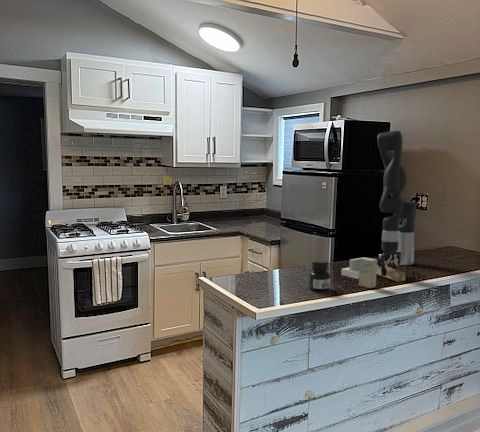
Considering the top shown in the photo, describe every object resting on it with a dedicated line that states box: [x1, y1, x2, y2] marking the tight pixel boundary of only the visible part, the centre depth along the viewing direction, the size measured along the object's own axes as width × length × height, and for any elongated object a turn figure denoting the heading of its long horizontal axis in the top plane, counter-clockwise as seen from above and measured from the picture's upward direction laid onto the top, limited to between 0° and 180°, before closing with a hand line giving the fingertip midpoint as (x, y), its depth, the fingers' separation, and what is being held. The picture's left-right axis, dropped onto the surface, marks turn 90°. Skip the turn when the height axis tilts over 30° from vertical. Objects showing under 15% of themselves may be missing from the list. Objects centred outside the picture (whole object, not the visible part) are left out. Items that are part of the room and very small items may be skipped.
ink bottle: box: [308, 259, 331, 292], centre depth 195 cm, size 10×9×12 cm
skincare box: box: [358, 257, 378, 289], centre depth 199 cm, size 6×4×12 cm
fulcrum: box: [340, 256, 365, 280], centre depth 219 cm, size 12×10×8 cm
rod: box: [376, 264, 406, 282], centre depth 217 cm, size 4×18×4 cm, turn 19°
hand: (388, 274), depth 217 cm, fingers open, 7 cm apart
